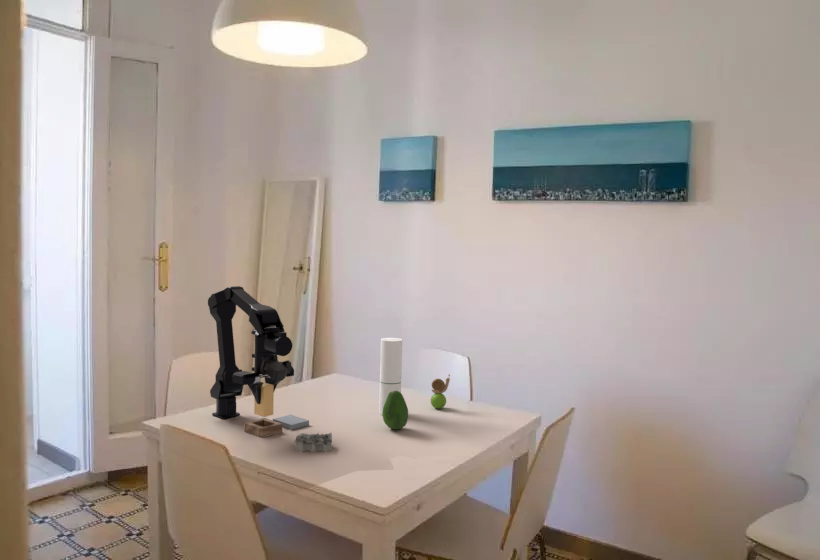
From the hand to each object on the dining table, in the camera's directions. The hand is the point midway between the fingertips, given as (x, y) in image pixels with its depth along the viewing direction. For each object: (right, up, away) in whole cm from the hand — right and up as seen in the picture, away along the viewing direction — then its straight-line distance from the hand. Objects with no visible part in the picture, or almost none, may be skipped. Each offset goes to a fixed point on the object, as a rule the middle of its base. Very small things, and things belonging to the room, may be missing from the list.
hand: (263, 402), depth 199 cm
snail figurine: (+54, -8, +32) cm, 63 cm away
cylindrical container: (+37, -8, +24) cm, 45 cm away
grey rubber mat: (+6, -8, +9) cm, 14 cm away
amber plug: (0, -4, 0) cm, 4 cm away
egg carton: (+17, -11, -12) cm, 23 cm away
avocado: (+39, -10, +7) cm, 41 cm away
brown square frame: (0, -9, +1) cm, 9 cm away
